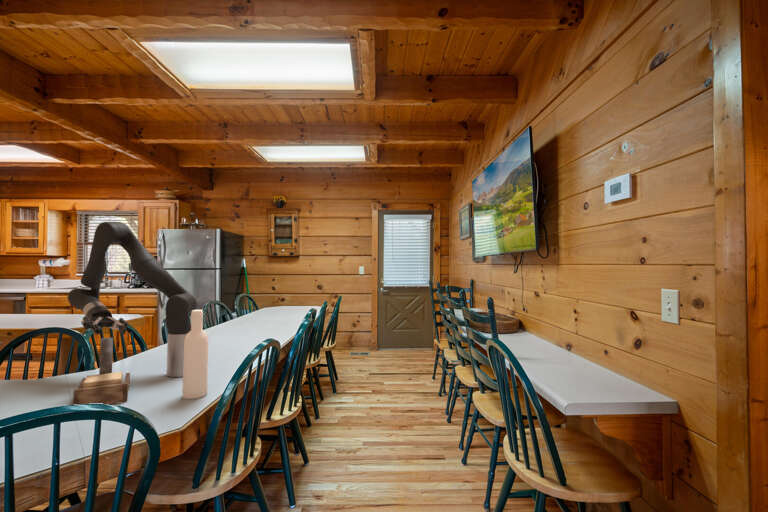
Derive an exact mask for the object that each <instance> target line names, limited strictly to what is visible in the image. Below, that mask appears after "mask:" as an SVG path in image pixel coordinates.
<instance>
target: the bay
mask: <svg viewBox="0 0 768 512" xmlns="http://www.w3.org/2000/svg"><path fill="white" fill-rule="evenodd" d="M85 379H86V377H83V378H82V379H81V381H80V383H79V384H78V387H77V388H75V389H74V390H73V402H72V403H73V404H89V403H103V404H109V405H114V404H117V403H116V402H122V403H128V399H129V392H130V385H129V384H130V379H131V373H130V372H126V373H125V377H124V381H123V382H122V384H114V385H106V386H98V387H90V388H83V383H84V381H85ZM128 391H129V392H128ZM127 398H128V399H127Z"/></svg>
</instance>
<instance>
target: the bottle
mask: <svg viewBox="0 0 768 512" xmlns="http://www.w3.org/2000/svg"><path fill="white" fill-rule="evenodd" d="M190 316H191V320H190V321H191V322H190V324H191V331H190V332H189V333H188V334H187V335H186V337H185V340H184V361H183V376H182V390H181V391H182V392H181V393H182V397H183V399H187V400H196V399H200V398H203V397H205V396H207V395H208V388H209V387H208V386H209V385H208V378H209V377H208V376H209V374H208V371H209V369H208V367H209V342H210V341H209V336H208V334H207V332H206V331H204V329H203V326H204V325H203V324H204V322H203V320H204V318H203V317H204V310H202V309H196V310H192V313H191V314H190Z"/></svg>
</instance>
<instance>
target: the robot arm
mask: <svg viewBox="0 0 768 512" xmlns="http://www.w3.org/2000/svg"><path fill="white" fill-rule="evenodd" d="M113 244H118V245H119V246H120V247H121V248H122V249H123V250H124V251H125V252H126V253H127V254H128V256H129V261H130V265H131V268H132V270H133V271H134V273H135V274H136V275H137V276H138V277H139V278H140V279H141V280H142V281H143V282H145V283H146V284H147V285H149V286H151V287H152V288H154V289H155V290H158V291H159V292H160V293H162V294H163V295H165V297H167V298H168V299H167V301H166V304H165V327H166V329H167V346H166V347H167V348H166V350H167V351H166V353H167V354H166V376H167V377H168V376H169V377H168V378H180V377H183V361H184V340H185V337H186V335H187V334H188V333H189V332H190V331H191V322H190V321H189V316H190V315H191V313H192V310H197V307H198V303H197V299H196V298H195V297H194V295H193V294H191V292H189V290H187V289H185V288H184V287H183V286H182V285H181V284H180V283H179V282H178V281H177V280H176V279H175V278H174V277H173V275H171V274H170V273H169V272H168V270H166V268H165V267H164V266H163V265H162V264H161V263H160V261H158V259H157V258H155V256H153V255H152V253H150V251H149V250H148V249H147V248H146V247H145V246H144V245H143V244H142V243H141V241H140V240H139V239H138V237H137V236H136V235H135V234H134V232H133V231H132V229H131V228H130V227H129V226H128V225H127V224H126V223H124V222H122V221H102V222H101V223H99V224H98V225H97V226H96V228H95V232H94V235H93V241H92V244H91V248H90V253H89V254H90V255H89V257H88V261H87V265H86V267H85V269H84V271H83V273H82V275H81V277H80V284H81V285H82V286H84V287H87V288H81V287H79V288H78V287H77V288H74V289H71V290H69V293H68V294H67V301H68V303H69V304H70V306H72V307H74V308H76V309H77V310H79V311H81V312H82V313H83V315H84V316H83V317H82V320H81V325H82V327H83V329H84V330H91V331H93V333H95V334H96V335H100V334H101V330H102V329H101V328H109V329H112V330H118V331H119V333H120V334H121V335H125V334H126V332H127V328H128V326H129V323H128V322H127V321H126V320H125V319H124V318H123V317H119V319H116V318H114V317H113V315H112V312H111V311H110V310H109V309H108V308H107V306H106V305H105V304H104V303H102V302H101V300H100V292H101V284H102V281H103V279H104V278H105V275H106V273H107V261H106V256H107V255H106V254H107V251H108V250H109V247H110V246H111V245H113Z"/></svg>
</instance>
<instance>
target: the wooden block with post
mask: <svg viewBox="0 0 768 512" xmlns="http://www.w3.org/2000/svg"><path fill="white" fill-rule="evenodd" d="M99 342H100V344H99V347H100V349H99V372H98V373H99V374H91V375H87V376H86V377H85V378H86V379H85V381H84V383H83V388H90V387H98V386H106V385H114V384H122V383H123V379H124V378H123V376H124V375H123V371H117V372H113V350H114V347H113V346H114V337H103V338H100V341H99Z"/></svg>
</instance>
